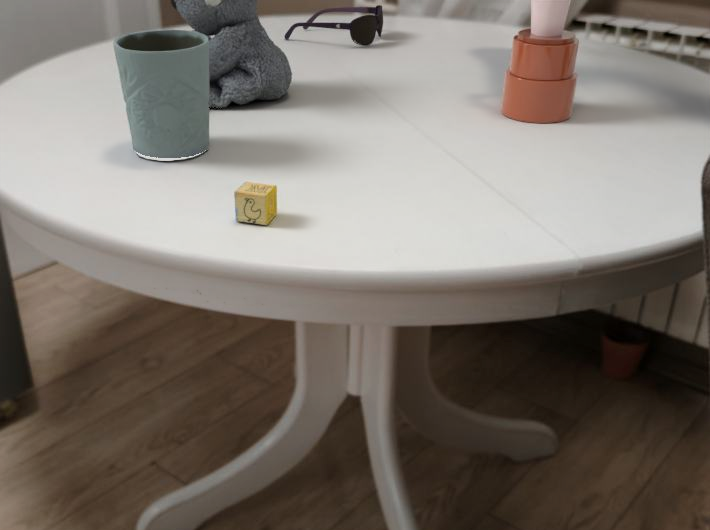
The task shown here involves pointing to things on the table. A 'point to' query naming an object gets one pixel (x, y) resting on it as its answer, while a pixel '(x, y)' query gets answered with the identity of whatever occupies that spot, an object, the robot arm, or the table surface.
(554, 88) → the upturned cup
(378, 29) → the sunglasses
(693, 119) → the table surface
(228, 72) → the koala plush
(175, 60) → the green embossed cup
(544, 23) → the smoothie
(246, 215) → the alphabet block
